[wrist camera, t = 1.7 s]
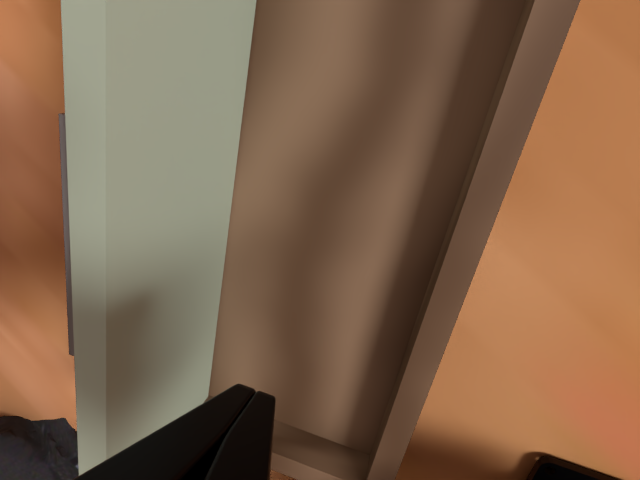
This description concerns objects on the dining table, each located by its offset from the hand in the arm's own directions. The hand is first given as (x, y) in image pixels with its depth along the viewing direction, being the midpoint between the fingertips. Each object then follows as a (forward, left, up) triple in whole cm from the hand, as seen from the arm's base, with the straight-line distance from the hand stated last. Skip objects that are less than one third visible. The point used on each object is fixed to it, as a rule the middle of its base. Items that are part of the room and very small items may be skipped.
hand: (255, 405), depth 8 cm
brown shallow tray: (+1, 0, -12) cm, 12 cm away
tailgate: (+7, 0, -11) cm, 13 cm away
